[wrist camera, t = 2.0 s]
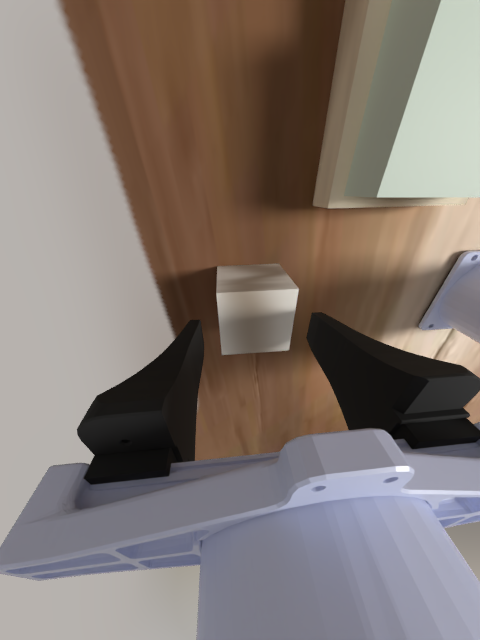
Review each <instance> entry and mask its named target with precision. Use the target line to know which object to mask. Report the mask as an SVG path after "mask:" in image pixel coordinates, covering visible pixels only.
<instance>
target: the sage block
mask: <svg viewBox="0 0 480 640" xmlns="http://www.w3.org/2000/svg"><path fill="white" fill-rule="evenodd" d="M344 196H357V197H480V0H392V3H391V7H390V11H389V15H388V19H387V23H386V27H385V31H384V35H383V39H382V43H381V47H380V51H379V55H378V59H377V63H376V67H375V71H374V75H373V79H372V83H371V88H370V92H369V96H368V100H367V104H366V108H365V112H364V116H363V120H362V124H361V128H360V132H359V136H358V140H357V144H356V148H355V152H354V156H353V160H352V164H351V168H350V172H349V176H348V180H347V184H346V188H345V192H344Z"/></svg>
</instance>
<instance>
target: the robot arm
mask: <svg viewBox="0 0 480 640" xmlns="http://www.w3.org/2000/svg"><path fill="white" fill-rule="evenodd" d="M419 328H420V329H422V330H433V329H448V328H454V329H456V330H458V331H460V332H461V333H463V334H465V335H466V336H468V337H470V338H471V339H473V340H475V341H477V342H478V343H480V251H466V252H464V253H462V254H461V255H460V257H459V258H458V260H457V261H456V263H455V265H454V266H453V268H452V270H451V272H450V273H449V275H448V277H447V278H446V280H445V282H444V283H443V285H442V287H441V288H440V290H439V292H438V294H437V295H436V297H435V299H434V300H433V302H432V304H431V305H430V307H429V309H428V310H427V312H426V314H425V316H424V317H423V319H422V321H421V322H420V324H419ZM307 340H308V343H309V346H310V348H311V350H312V352H313V354H314V356H315V358H316V359H317V361H318V363H319V365H320V366H321V368H322V370H323V371H324V373H325V375H326V377H327V378H328V380H329V382H330V384H331V386H332V389H333V391H334V393H335V396H336V398H337V400H338V403H339V405H340V408H341V410H342V413H343V415H344V418H345V421H346V423H347V426H348V429H349V430H347V431H337V432H328V433H318V434H309V435H305V436H300V437H296V438H294V439H293V440H291V441H289V442H287V443H286V444H285V445H284V447H283V448H282V450H281V451H280V452H275V453H265V454H256V455H246V456H237V457H228V458H218V459H209V460H199V461H195V435H196V414H197V398H198V389H199V383H200V377H201V371H202V365H203V359H204V341H203V334H202V328H201V321H200V320H190V321H189V322H188V324H187V325H186V326H185V328H184V329H183V330H182V332H181V333H180V334H179V335H178V337H177V338H176V339H175V340H174V341H173V342H172V343H171V344H170V346H169V347H168V348H167V349H166V350H165V351H164V352H163V353H162V354H161V355H159V356H158V357H157V358H156V359H155V360H154V361H152V362H151V363H150V364H149V365H147V366H146V367H144V368H143V369H142V370H140V371H139V372H137V373H136V374H135V375H133V376H131V377H130V378H128V379H127V380H125V381H124V382H122V383H120V384H119V385H117V386H115V387H113V388H111V389H109V390H107V391H105V392H104V393H102V394H100V395H98V396H97V397H96V398H95V400H94V401H93V403H92V404H91V406H90V408H89V409H88V411H87V413H86V415H85V416H84V418H83V420H82V421H81V423H80V425H79V427H78V429H77V433H78V436H79V438H80V439H81V441H82V442H83V443H84V444H85V445H86V446H87V447H88V448H89V449H90V451H91V452H92V453H93V454H94V455H95V456H94V458H93V460H92V462H91V464H90V465H89V464H86V463H74V464H64V465H54V466H51V467H49V469H48V470H47V472H46V473H45V475H44V477H43V478H42V480H41V482H40V484H39V485H38V487H37V488H36V490H35V491H34V493H33V495H32V496H31V498H30V500H29V501H28V503H27V505H26V506H25V508H24V509H23V511H22V513H21V514H20V516H19V517H18V519H17V521H16V523H15V524H14V526H13V527H12V529H11V530H10V532H9V534H8V535H7V537H6V539H5V540H4V542H3V543H2V545H1V547H0V574H5V575H11V576H16V577H22V578H27V579H33V580H38V581H41V580H47V579H56V578H64V577H72V576H81V575H90V574H100V573H111V572H122V571H135V570H147V569H159V568H171V567H182V566H195V565H200V581H199V600H198V601H199V602H198V620H197V640H480V582H479V581H478V579H477V578H476V576H475V575H474V573H473V572H472V570H471V568H470V567H469V565H468V564H467V563H466V561H465V559H464V558H463V556H462V555H461V554H460V552H459V550H458V549H457V548H456V546H455V545H454V543H453V541H452V540H451V538H450V537H449V535H448V534H447V532H446V531H445V529H444V528H446V527H452V526H457V525H462V524H467V523H473V522H478V521H480V422H478V423H475V424H472V423H471V422H470V421H469V420H468V419H467V418H468V417H469V416H470V414H469V413H468V412H467V411H466V410H465V409H464V408H463V407H464V406H465V405H466V404H467V403H468V402H469V401H470V400H471V399H472V398H473V397H474V396H475V395H476V394H477V393H478V392H479V390H480V378H479V377H477V376H476V375H475V374H473V373H472V372H470V371H469V370H468V369H466V368H465V367H463V366H461V365H457V364H452V363H448V362H443V361H439V360H435V359H431V358H427V357H423V356H420V355H416V354H413V353H409V352H406V351H403V350H400V349H397V348H394V347H392V346H389V345H386V344H384V343H381V342H379V341H376V340H374V339H372V338H370V337H367V336H365V335H363V334H361V333H359V332H357V331H355V330H353V329H351V328H350V327H348V326H346V325H344V324H342V323H340V322H339V321H337V320H335V319H333V318H332V317H330V316H328V315H326V314H324V313H322V312H318V313H312V315H311V320H310V324H309V329H308V333H307Z"/></svg>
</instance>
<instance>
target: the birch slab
mask: <svg viewBox="0 0 480 640" xmlns="http://www.w3.org/2000/svg"><path fill="white" fill-rule="evenodd" d="M391 3H392V0H345V6H344V12H343V18H342V25H341V31H340V37H339V43H338V49H337V56H336V62H335V68H334V74H333V81H332V87H331V93H330V99H329V106H328V112H327V118H326V124H325V130H324V137H323V143H322V149H321V155H320V162H319V168H318V174H317V180H316V187H315V193H314V199H313V205H312V206H316V207H322V208H363V207H400V206H437V205H466V203H467V201H468V199H469V197H357V196H344V192H345V188H346V184H347V180H348V176H349V172H350V168H351V164H352V160H353V156H354V152H355V148H356V144H357V140H358V136H359V132H360V128H361V124H362V120H363V116H364V112H365V108H366V104H367V100H368V96H369V92H370V88H371V83H372V79H373V75H374V71H375V67H376V63H377V59H378V55H379V51H380V47H381V43H382V39H383V35H384V31H385V27H386V23H387V19H388V15H389V11H390V7H391Z"/></svg>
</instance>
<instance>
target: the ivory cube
mask: <svg viewBox="0 0 480 640" xmlns="http://www.w3.org/2000/svg"><path fill="white" fill-rule="evenodd" d="M298 291H299V288H298V287H297V286H296V285H295V283H294V282H293V281H292V280H291V278H290V277H289V276H288V275H287V273H286V272H285V271H284V270H283V268H282V267H281V266H280V265H279V264H259V265H235V266H217V288H216V295H217V306H218V317H219V328H220V339H221V350H222V355H230V354H244V353H259V352H273V351H287V350H289V346H290V340H291V334H292V328H293V322H294V316H295V310H296V303H297V297H298Z"/></svg>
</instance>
